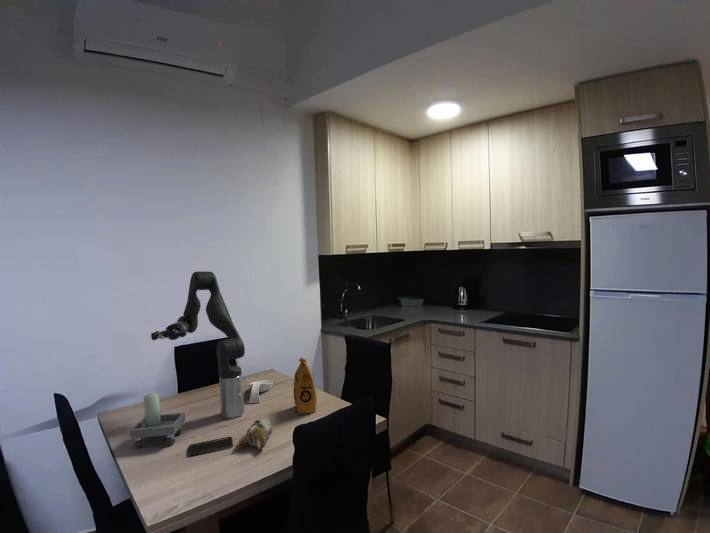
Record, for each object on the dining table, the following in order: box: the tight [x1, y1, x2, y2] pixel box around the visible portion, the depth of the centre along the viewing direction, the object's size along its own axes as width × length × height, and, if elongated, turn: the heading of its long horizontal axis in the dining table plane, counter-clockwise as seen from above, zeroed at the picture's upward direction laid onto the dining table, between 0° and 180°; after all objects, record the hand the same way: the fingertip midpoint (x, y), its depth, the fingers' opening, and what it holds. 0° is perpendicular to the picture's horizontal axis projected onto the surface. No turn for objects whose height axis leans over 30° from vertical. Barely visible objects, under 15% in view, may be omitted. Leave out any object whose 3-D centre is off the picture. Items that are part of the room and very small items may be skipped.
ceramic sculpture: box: [234, 415, 273, 451], centre depth 137 cm, size 11×9×15 cm
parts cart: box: [129, 412, 186, 449], centre depth 141 cm, size 15×12×8 cm
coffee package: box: [293, 357, 318, 415], centre depth 166 cm, size 10×12×22 cm
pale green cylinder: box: [143, 392, 161, 428], centre depth 141 cm, size 5×5×12 cm
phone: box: [187, 436, 234, 457], centre depth 135 cm, size 8×1×15 cm
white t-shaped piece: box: [249, 379, 274, 404], centre depth 186 cm, size 24×12×7 cm, turn 5°
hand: (163, 337), depth 166 cm, fingers open, 8 cm apart
